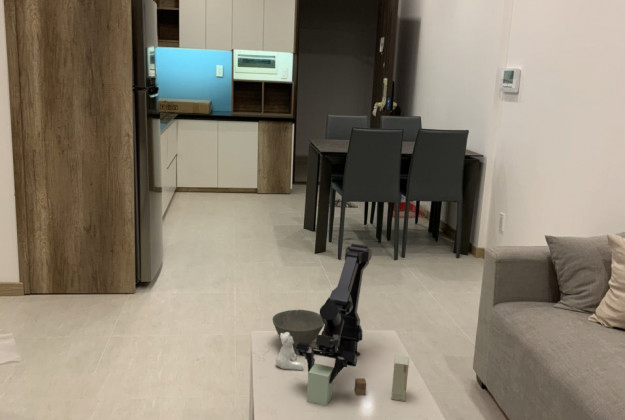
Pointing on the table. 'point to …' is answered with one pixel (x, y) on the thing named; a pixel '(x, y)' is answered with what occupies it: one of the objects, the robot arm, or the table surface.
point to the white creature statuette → (288, 354)
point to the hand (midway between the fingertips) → (319, 380)
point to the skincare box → (400, 377)
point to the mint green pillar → (319, 384)
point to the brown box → (360, 386)
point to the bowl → (299, 325)
